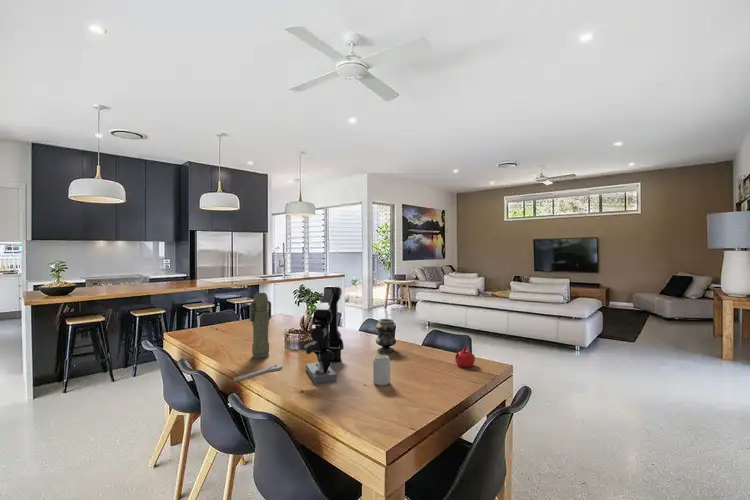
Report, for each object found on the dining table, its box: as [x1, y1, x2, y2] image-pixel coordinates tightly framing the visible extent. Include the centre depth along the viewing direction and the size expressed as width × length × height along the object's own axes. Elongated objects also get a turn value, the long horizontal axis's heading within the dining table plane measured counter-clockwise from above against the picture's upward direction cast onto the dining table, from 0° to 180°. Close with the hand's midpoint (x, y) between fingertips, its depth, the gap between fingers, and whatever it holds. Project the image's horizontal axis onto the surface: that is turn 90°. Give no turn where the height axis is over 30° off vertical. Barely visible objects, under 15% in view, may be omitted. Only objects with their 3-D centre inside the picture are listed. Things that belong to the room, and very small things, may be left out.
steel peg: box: [317, 359, 328, 375], centre depth 172 cm, size 4×4×8 cm
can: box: [372, 354, 391, 387], centre depth 166 cm, size 8×8×12 cm
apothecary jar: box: [375, 318, 397, 353], centre depth 219 cm, size 12×12×18 cm
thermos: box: [249, 292, 272, 360], centre depth 207 cm, size 9×12×35 cm
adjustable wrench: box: [233, 364, 283, 382], centre depth 179 cm, size 25×6×2 cm, turn 136°
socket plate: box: [305, 362, 338, 385], centre depth 177 cm, size 10×20×3 cm, turn 21°
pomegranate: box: [454, 347, 476, 368], centre depth 191 cm, size 10×10×9 cm
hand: (322, 369), depth 172 cm, fingers open, 9 cm apart
